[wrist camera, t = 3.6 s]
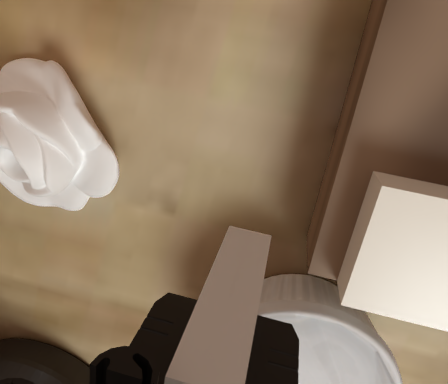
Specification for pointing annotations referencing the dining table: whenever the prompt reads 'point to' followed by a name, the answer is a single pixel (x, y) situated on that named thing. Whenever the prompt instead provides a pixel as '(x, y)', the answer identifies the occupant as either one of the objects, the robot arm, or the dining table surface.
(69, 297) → the dining table surface
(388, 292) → the cream flat block
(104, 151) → the rose
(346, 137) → the deck
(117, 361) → the robot arm
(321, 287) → the ramekin
